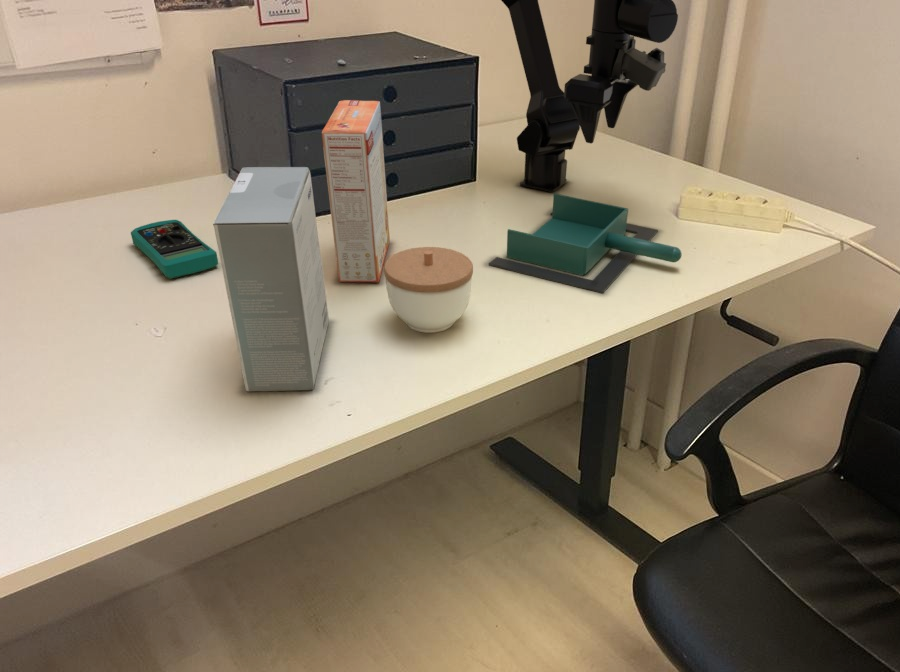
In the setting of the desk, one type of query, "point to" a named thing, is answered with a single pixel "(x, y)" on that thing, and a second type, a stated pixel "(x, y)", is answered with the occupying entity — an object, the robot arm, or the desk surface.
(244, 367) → the hard drive box
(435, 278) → the trinket box
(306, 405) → the desk surface
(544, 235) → the dustpan
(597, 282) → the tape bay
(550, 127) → the robot arm
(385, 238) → the cracker box
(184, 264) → the digital multimeter
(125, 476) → the desk surface
